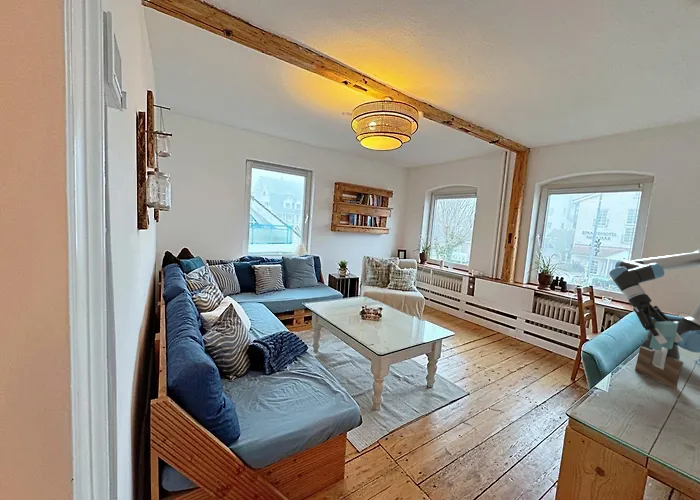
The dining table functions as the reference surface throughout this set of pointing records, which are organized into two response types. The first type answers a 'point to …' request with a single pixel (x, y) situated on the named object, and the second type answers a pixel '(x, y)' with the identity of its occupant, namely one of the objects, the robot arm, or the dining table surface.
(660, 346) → the teal slotted plate
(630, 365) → the dining table surface
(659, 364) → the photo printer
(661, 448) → the dining table surface
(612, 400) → the dining table surface
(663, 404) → the dining table surface
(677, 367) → the walnut slotted board
